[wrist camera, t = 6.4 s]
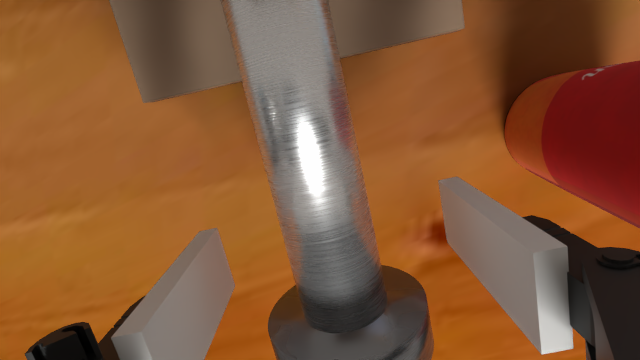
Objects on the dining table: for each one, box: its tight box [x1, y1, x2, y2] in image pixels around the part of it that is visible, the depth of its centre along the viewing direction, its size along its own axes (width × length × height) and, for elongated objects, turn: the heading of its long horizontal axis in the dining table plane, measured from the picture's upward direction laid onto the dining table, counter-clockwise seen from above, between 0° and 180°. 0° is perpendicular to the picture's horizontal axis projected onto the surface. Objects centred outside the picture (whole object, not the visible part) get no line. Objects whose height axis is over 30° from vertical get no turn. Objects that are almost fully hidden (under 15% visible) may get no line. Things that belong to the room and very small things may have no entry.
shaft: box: [220, 0, 434, 360], centre depth 11 cm, size 6×18×6 cm, turn 12°
